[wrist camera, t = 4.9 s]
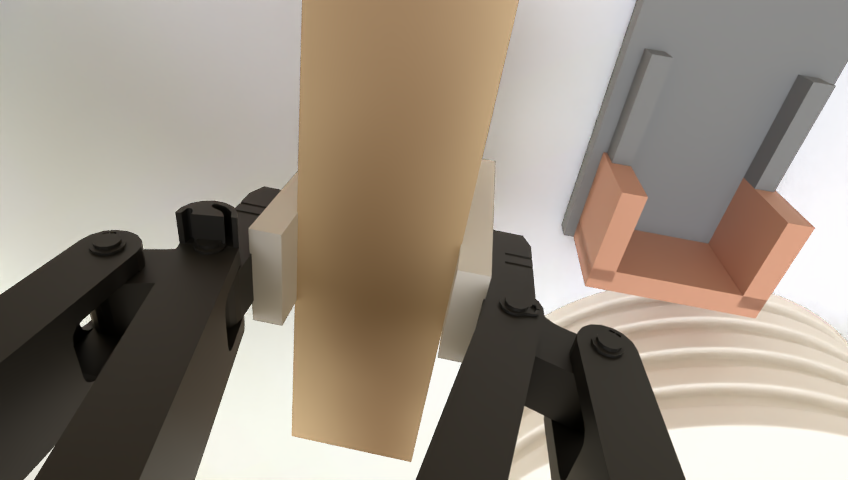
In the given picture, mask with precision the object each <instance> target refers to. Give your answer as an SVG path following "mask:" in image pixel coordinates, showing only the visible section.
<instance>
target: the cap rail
mask: <svg viewBox="0 0 848 480" xmlns="http://www.w3.org/2000/svg"><path fill="white" fill-rule="evenodd" d="M847 62H848V0H637V2H636V5H635V8H634V11H633V14H632V17H631V20H630V23H629V26H628V29H627V32H626V35H625V38H624V41H623V44H622V47H621V50H620V53H619V56H618V59H617V62H616V65H615V68H614V70H613V73H612V76H611V79H610V82H609V85H608V88H607V91H606V94H605V97H604V100H603V103H602V106H601V109H600V112H599V115H598V118H597V121H596V124H595V127H594V130H593V133H592V136H591V139H590V142H589V145H588V148H587V151H586V154H585V157H584V160H583V163H582V166H581V169H580V172H579V175H578V178H577V181H576V184H575V187H574V190H573V193H572V196H571V199H570V202H569V205H568V208H567V211H566V214H565V217H564V220H563V223H562V229H563V234H564V235H568V236H573V237H574V241H575V245H576V249H577V253H578V258H579V262H580V266H581V270H582V275H583V279H584V283H585V286H588V287H593V288H598V289H604V290H609V291H614V292H619V293H624V294H630V295H635V296H640V297H645V298H651V299H656V300H661V301H666V302H671V303H677V304H682V305H687V306H692V307H698V308H703V309H708V310H713V311H719V312H724V313H729V314H734V315H739V316H745V317H750V318H756V317H757V315H758V314H759V312H760V311H761V309H762V308H763V306H764V305H765V303H766V302H767V300H768V299H769V297H770V296H771V294H772V293H773V291H774V289H775V288H776V286H777V285H778V283H779V282H780V280H781V279H782V277H783V276H784V274H785V273H786V271H787V270H788V268H789V267H790V265H791V264H792V262H793V261H794V259H795V258H796V256H797V254H798V253H799V251H800V250H801V248H802V247H803V245H804V244H805V242H806V241H807V239H808V238H809V236H810V235H811V233H812V232H813V230H814V229H815V228H814V227H813V226H812V225H811V224H810V223H809V222H808V221H807V220H806V219H805V218H804V217H803V216H802V215H801V214H800V213H799V212H798V211H796V210H795V209H794V208H793V207H792V206H791V205H790V204H789V203H788V202H787V201H786V200H785V199H784V198H783V197H782V196H781V195H780V194H779V193H777V192H776V191H775V190H776V188H777V187H778V185H779V183H780V181H781V180H782V178H783V176H784V174H785V173H786V171H787V169H788V168H789V166H790V164H791V162H792V161H793V159H794V157H795V155H796V154H797V152H798V150H799V149H800V147H801V145H802V143H803V142H804V140H805V138H806V136H807V135H808V133H809V131H810V130H811V128H812V126H813V124H814V123H815V121H816V119H817V117H818V116H819V114H820V112H821V111H822V109H823V107H824V105H825V104H826V102H827V100H828V99H829V97H830V95H831V93H832V92H833V90H834V88H835V85H834V84H835V83H836V81H837V79H838V77H839V76H840V74H841V72H842V70H843V69H844V67H845V65H846V63H847Z"/></svg>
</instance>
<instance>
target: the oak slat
mask: <svg viewBox="0 0 848 480" xmlns="http://www.w3.org/2000/svg"><path fill="white" fill-rule="evenodd" d="M518 2H519V0H302V25H301V67H300V109H299V152H298V194H297V212H298V241H297V300H296V302H295V320H294V362H293V404H292V436H294V437H299V438H304V439H308V440H313V441H317V442H322V443H327V444H331V445H336V446H340V447H345V448H349V449H354V450H359V451H363V452H368V453H372V454H377V455H382V456H386V457H391V458H395V459H400V460H405V461H409V462H411V460H412V456H413V452H414V447H415V443H416V439H417V435H418V430H419V426H420V422H421V417H422V413H423V409H424V405H425V400H426V396H427V392H428V388H429V383H430V379H431V375H432V370H433V366H434V362H435V358H436V353H437V349H438V345H439V340H440V336H441V332H442V328H443V323H444V319H445V314H446V310H447V305H448V301H449V296H450V292H451V287H452V283H453V278H454V274H455V269H456V265H457V260H458V256H459V251H460V247H461V244H462V242H463V238H464V233H465V229H466V225H467V221H468V216H469V212H470V208H471V203H472V199H473V195H474V191H475V186H476V182H477V178H478V173H479V169H480V165H481V161H482V156H483V152H484V148H485V143H486V139H487V135H488V131H489V126H490V122H491V118H492V114H493V109H494V105H495V101H496V96H497V92H498V88H499V84H500V79H501V75H502V71H503V66H504V62H505V58H506V54H507V49H508V45H509V41H510V36H511V32H512V28H513V24H514V19H515V15H516V11H517V6H518Z"/></svg>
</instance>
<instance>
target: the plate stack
mask: <svg viewBox="0 0 848 480" xmlns="http://www.w3.org/2000/svg"><path fill="white" fill-rule="evenodd" d="M545 317H546V318H547V319H549V320H550V321H551V322H553V323H554V324H556V325H558V326H560V327H562V328H564V329H567V330H569V331H571V332H574V333H576V334H577V332H578V331H579V330H580V329H581V328H582V327H584V326H587V325H590V324H596V325H604V326H607V327H610V328H613V329H615V330H617V331H619V332H621V333H622V334H624V335H625V336H626V337H627V338H629V339H630V340H631V341H632V342H633V344H634V345H635V347H636V348H637V350H638V352H639V355H640V358H641V360H642V363H643V366H644V368H645V371H646V374H647V376H648V379H649V382H650V384H651V387H652V390H653V393H654V395H655V398H656V401H657V403H658V406H659V409H660V411H661V414H662V417H663V419H664V422H665V425H666V427H667V430H668V433H669V436H670V438H671V441H672V444H673V446H674V449H675V452H676V454H677V457H678V460H679V462H680V465H681V468H682V470H683V473H684V476H685V479H686V480H848V343H847V342H846V340H845V339H844V338H843V337H842V336H841V335H840V334H839V333H838V332H837V331H836V330H835V329H834V328H833V327H832V326H831V325H830V324H828V323H827V322H826V321H825V320H823V319H822V318H820V317H819V316H818V315H816V314H814V313H813V312H811V311H810V310H808V309H806V308H804V307H802V306H801V305H799V304H796V303H794V302H792V301H790V300H788V299H785V298H783V297H780V296H777V295H774V294H771V296H770V297H769V299H768V300H767V302H766V303H765V305H764V306H763V308H762V309H761V311H760V312H759V314H758V315H757V317H756V318H750V317H745V316H739V315H734V314H729V313H724V312H719V311H713V310H708V309H703V308H698V307H692V306H687V305H682V304H677V303H671V302H666V301H661V300H656V299H651V298H645V297H640V296H635V295H630V294H624V293H619V292H614V291H609V290H607V291H604V292H600V293H597V294H594V295H591V296H588V297H585V298H582V299H580V300H577V301H575V302H572V303H570V304H567V305H565V306H563V307H561V308H559V309H557V310H555V311H553V312H551V313H549V314H548V315H546V316H545ZM508 480H551V474H550V466H549V458H548V450H547V442H546V435H545V427H544V415H542V414H540V413H538V412H536V411H534V410H532V409H530V408H528V407H526V406H524V410H523V414H522V419H521V423H520V428H519V433H518V437H517V442H516V446H515V451H514V455H513V460H512V465H511V469H510V474H509V478H508Z"/></svg>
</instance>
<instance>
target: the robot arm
mask: <svg viewBox="0 0 848 480" xmlns="http://www.w3.org/2000/svg"><path fill="white" fill-rule="evenodd" d="M494 186H495V161H491V160H486V159H482V161H481V165H480V169H479V173H478V178H477V182H476V186H475V191H474V195H473V199H472V203H471V208H470V212H469V216H468V221H467V225H466V229H465V233H464V238H463V242H462V244H461V247H460V251H459V256H458V260H457V265H456V269H455V274H454V278H453V283H452V287H451V292H450V296H449V301H448V305H447V310H446V314H445V319H444V323H443V328H442V333H441V340H440V346H439V353H438V358H442V359H447V360H452V361H457V362H461V363H462V364H461V366H460V369H459V371H458V374H457V377H456V379H455V382H454V384H453V387H452V389H451V392H450V394H449V397H448V399H447V402H446V404H445V407H444V409H443V412H442V415H441V417H440V420H439V422H438V425H437V427H436V430H435V432H434V435H433V437H432V440H431V442H430V445H429V448H428V450H427V453H426V455H425V458H424V460H423V463H422V465H421V468H420V470H419V473H418V475H417V478H416V480H508V478H509V474H510V469H511V465H512V460H513V455H514V451H515V446H516V442H517V437H518V433H519V428H520V423H521V419H522V414H523V410H524V406H526V407H528V408H530V409H532V410H534V411H536V412H538V413H540V414H542V415H544V427H545V435H546V442H547V450H548V458H549V466H550V474H551V480H686V479H685V476H684V473H683V470H682V468H681V465H680V462H679V460H678V457H677V454H676V452H675V449H674V446H673V444H672V441H671V438H670V436H669V433H668V430H667V427H666V425H665V422H664V419H663V417H662V414H661V411H660V409H659V406H658V403H657V401H656V398H655V395H654V393H653V390H652V387H651V384H650V382H649V379H648V376H647V374H646V371H645V368H644V366H643V363H642V360H641V358H640V355H639V352H638V350H637V348H636V347H635V345H634V344H633V342H632V341H631V340H630V339H629V338H627V337H626V336H625V335H624V334H622V333H621V332H619V331H617V330H615V329H613V328H610V327H607V326H604V325H596V324H590V325H587V326H584V327H582V328H581V329H580V330H579V331H578V332H577V334H576V333H574V332H571V331H569V330H567V329H564V328H562V327H560V326H558V325H556V324H554V323H553V322H551V321H550V320H549V319H547V318H546V317H545V316H544V311H543V307H542V306H541V304H540V303H539V301H537V300H536V299H535V288H534V277H533V269H532V267H533V265H532V260H531V259H532V254H531V246H530V245H529V244H528V242H527V241H526V240H525V238H524V237H523V236H521V235H516V234H511V233H505V232H500V231H495V230H493V216H494ZM297 194H298V171H297V172H296V174H295V175H294V176H293V177H292V178H291V179H290V181H289V182H288V183H287V184H286V185H285V186H284V188H283V189H282V190H279V189H274V188H269V187H262V188H260V189H258V190H255V191H253V192H251V193H249V194H248V195H247V196H246V197H245V198H244V199H243V200H242V202H241V204H239V205H238V206H237V207H236V208H234V207H233V206H231V205H228V204H226V203H223V202H218V201H200V202H194V203H190V204H188V205H185V206H183V207H181V208H180V209H179V210H178V211H177V212H175V213H176V220H177V227H178V234H179V241H180V244H179V245H178V247H177V248H176V249H144V250H143V245H142V240H141V239H140V238H139V237H138V235H136V234H134V233H131V232H128V231H120V230H111V231H109V230H108V231H102V232H99V233H95V234H91V235H89V236H87V237H85V238H83V239H81V240H80V241H78V242H77V243H75V244H74V245H72V246H71V247H69V248H68V249H66V250H65V251H64V252H62V253H61V254H59V255H58V256H56V257H55V258H53V259H52V260H50V261H49V262H47V263H46V264H45V265H43V266H42V267H40V268H39V269H37V270H36V271H34V272H33V273H31V274H30V275H28V276H27V277H26V278H24V279H23V280H21V281H20V282H18V283H17V284H15V285H14V286H12V287H11V288H9V289H8V290H6V291H5V292H4V293H2V294H1V295H0V480H24V479H25V478H26V477H27V476H28V474H29V473H30V472H31V471H32V470H33V469H34V468H35V467H36V466H37V465H38V464H39V462H40V461H41V460H42V459H43V458H44V457H45V456H46V455H47V454H48V453H49V452H50V450H51V449H52V448H53V447H54V446H55V447H54V448H53V450H52V452H51V453H50V455H49V456H48V458H47V460H46V461H45V463H44V465H43V466H42V468H41V469H40V471H39V473H38V474H37V476H36V478H35V479H34V480H195V477H196V474H197V471H198V468H199V465H200V462H201V459H202V456H203V453H204V450H205V447H206V444H207V441H208V438H209V435H210V432H211V429H212V426H213V423H214V420H215V417H216V414H217V411H218V408H219V405H220V402H221V399H222V396H223V393H224V390H225V387H226V384H227V381H228V378H229V375H230V372H231V369H232V366H233V363H234V360H235V357H236V354H237V351H238V348H239V345H240V342H241V339H242V336H243V333H244V326H245V323H244V314H245V313H246V312H247V310H248V309H249V307H250V306H251V304H252V309H253V320H257V321H262V322H267V323H271V324H276V325H281V326H282V325H283V323H284V322H285V320H286V318H287V316H288V314H289V313H290V311H291V309H292V307H293V305H294V304H295V302H296V300H297V241H298V212H297ZM89 314H90V316H91V319H92V320H91V321H90V322H89V323H87V324H86V325H85V326H83V327H81V326H80V322H81V321H82V320H83V319H84V318H85V317H86V316H88V315H89Z"/></svg>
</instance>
